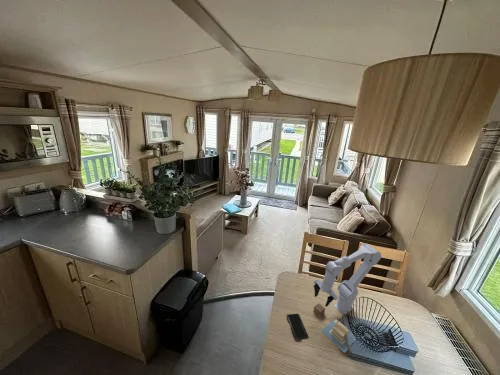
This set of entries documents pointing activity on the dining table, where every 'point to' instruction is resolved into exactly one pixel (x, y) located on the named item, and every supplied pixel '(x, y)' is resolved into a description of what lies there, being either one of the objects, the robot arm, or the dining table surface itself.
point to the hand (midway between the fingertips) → (321, 300)
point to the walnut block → (319, 309)
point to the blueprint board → (332, 337)
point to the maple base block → (340, 331)
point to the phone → (297, 327)
